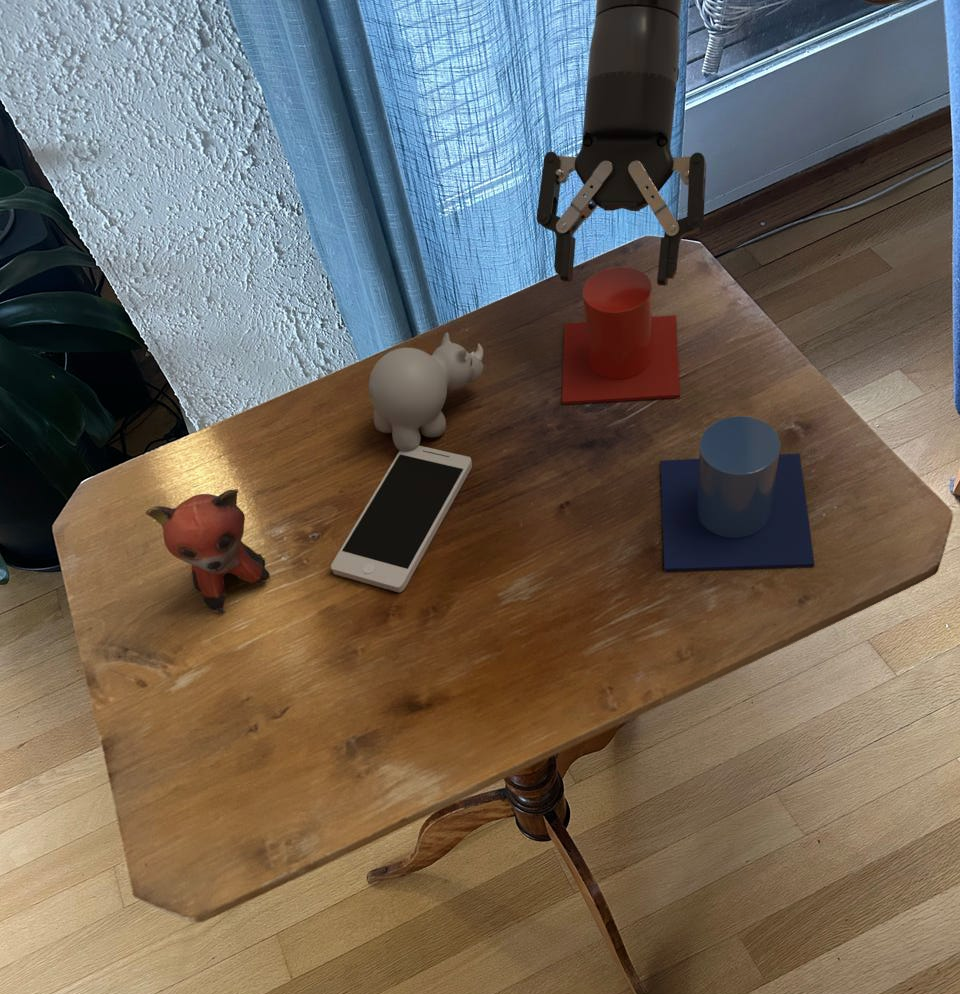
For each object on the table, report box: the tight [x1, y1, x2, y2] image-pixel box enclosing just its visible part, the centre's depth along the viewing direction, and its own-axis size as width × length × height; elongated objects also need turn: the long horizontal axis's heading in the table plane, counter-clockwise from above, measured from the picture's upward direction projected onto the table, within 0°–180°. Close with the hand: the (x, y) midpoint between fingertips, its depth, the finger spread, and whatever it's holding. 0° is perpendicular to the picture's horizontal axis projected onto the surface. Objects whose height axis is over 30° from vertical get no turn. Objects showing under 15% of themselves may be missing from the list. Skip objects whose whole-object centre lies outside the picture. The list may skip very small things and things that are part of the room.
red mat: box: [561, 314, 681, 406], centre depth 99 cm, size 11×11×1 cm
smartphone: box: [330, 444, 473, 593], centre depth 92 cm, size 7×15×1 cm, turn 156°
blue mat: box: [660, 453, 815, 572], centre depth 87 cm, size 12×12×1 cm
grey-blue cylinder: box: [697, 415, 781, 538], centre depth 84 cm, size 6×6×8 cm
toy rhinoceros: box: [368, 331, 484, 451], centre depth 96 cm, size 7×12×8 cm, turn 123°
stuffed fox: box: [145, 488, 271, 615], centre depth 88 cm, size 8×11×12 cm
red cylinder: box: [582, 266, 653, 379], centre depth 96 cm, size 6×6×8 cm
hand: (613, 282), depth 90 cm, fingers open, 8 cm apart
